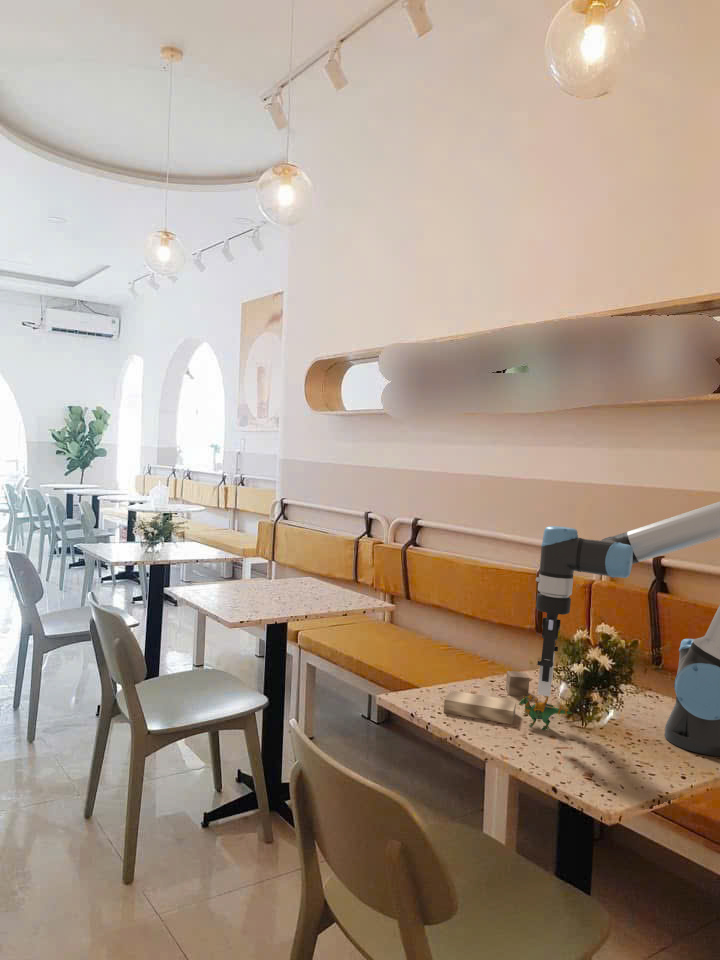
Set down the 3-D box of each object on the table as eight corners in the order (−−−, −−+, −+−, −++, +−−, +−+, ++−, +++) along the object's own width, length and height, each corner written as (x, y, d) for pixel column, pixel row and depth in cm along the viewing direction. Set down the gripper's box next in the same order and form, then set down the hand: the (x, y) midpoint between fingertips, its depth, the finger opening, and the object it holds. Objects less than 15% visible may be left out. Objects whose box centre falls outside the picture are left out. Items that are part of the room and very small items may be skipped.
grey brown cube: (524, 690, 189) (525, 672, 189) (528, 696, 184) (529, 677, 184) (505, 689, 189) (506, 670, 189) (508, 695, 184) (510, 676, 184)
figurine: (518, 720, 165) (521, 686, 165) (571, 731, 160) (574, 696, 160) (516, 724, 163) (518, 689, 162) (569, 736, 158) (572, 699, 157)
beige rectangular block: (515, 713, 170) (516, 700, 170) (512, 724, 163) (513, 711, 163) (449, 702, 175) (450, 690, 175) (443, 712, 167) (444, 699, 167)
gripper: (540, 584, 174) (531, 669, 175) (534, 600, 150) (524, 699, 151) (571, 588, 172) (563, 674, 172) (570, 606, 148) (560, 706, 148)
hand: (545, 686), depth 161 cm, fingers open, 13 cm apart
